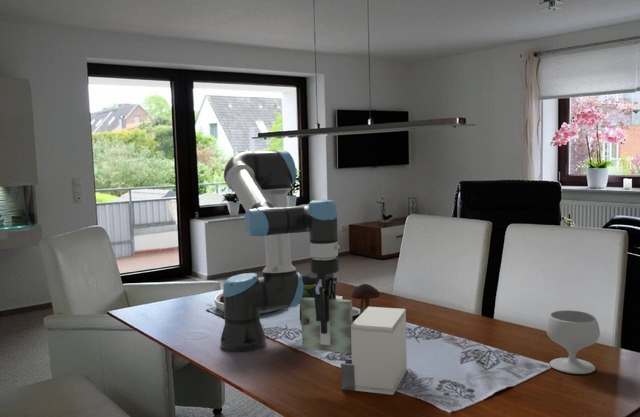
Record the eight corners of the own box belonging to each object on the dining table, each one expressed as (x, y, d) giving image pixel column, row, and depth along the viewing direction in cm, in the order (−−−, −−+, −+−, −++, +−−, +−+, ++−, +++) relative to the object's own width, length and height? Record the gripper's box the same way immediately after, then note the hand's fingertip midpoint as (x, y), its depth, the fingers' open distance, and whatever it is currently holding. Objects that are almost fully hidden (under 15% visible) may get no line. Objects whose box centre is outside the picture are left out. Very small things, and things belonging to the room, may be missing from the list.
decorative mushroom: (347, 326, 209) (346, 286, 208) (356, 318, 219) (355, 279, 218) (376, 329, 205) (375, 288, 204) (384, 320, 215) (383, 281, 214)
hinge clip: (341, 389, 155) (340, 356, 154) (347, 381, 160) (347, 349, 159) (355, 391, 153) (354, 358, 152) (361, 382, 159) (360, 350, 158)
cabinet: (352, 390, 154) (350, 324, 152) (369, 365, 171) (368, 306, 169) (393, 394, 150) (391, 327, 148) (406, 369, 167) (405, 308, 165)
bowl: (249, 295, 262) (248, 278, 262) (301, 303, 245) (300, 285, 244) (199, 311, 238) (198, 292, 237) (253, 321, 221) (252, 301, 220)
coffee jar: (310, 316, 225) (308, 269, 223) (327, 318, 220) (325, 271, 218) (296, 322, 216) (294, 274, 215) (313, 325, 212) (311, 276, 210)
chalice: (539, 358, 172) (539, 309, 171) (586, 357, 172) (587, 308, 170) (556, 377, 158) (557, 323, 157) (608, 376, 158) (609, 322, 156)
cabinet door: (301, 349, 158) (299, 299, 157) (305, 346, 161) (303, 297, 159) (350, 354, 153) (348, 302, 152) (353, 350, 156) (351, 300, 154)
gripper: (328, 263, 146) (331, 353, 149) (346, 253, 161) (348, 335, 163) (301, 262, 149) (304, 350, 151) (320, 252, 163) (323, 333, 165)
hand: (327, 342), depth 157 cm, fingers closed on cabinet door, 2 cm apart
